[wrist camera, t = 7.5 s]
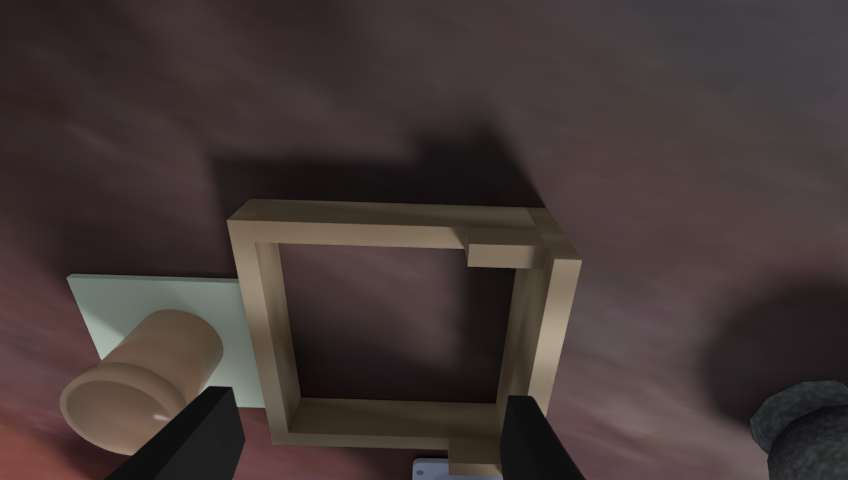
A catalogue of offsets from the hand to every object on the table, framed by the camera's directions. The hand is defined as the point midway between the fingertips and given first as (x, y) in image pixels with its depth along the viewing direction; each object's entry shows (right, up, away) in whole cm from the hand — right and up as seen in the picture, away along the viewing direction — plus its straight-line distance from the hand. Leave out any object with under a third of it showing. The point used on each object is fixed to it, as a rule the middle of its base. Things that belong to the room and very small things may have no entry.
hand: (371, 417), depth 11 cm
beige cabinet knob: (-12, -1, +12) cm, 17 cm away
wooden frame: (0, 0, +12) cm, 12 cm away
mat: (-13, -1, +12) cm, 18 cm away
